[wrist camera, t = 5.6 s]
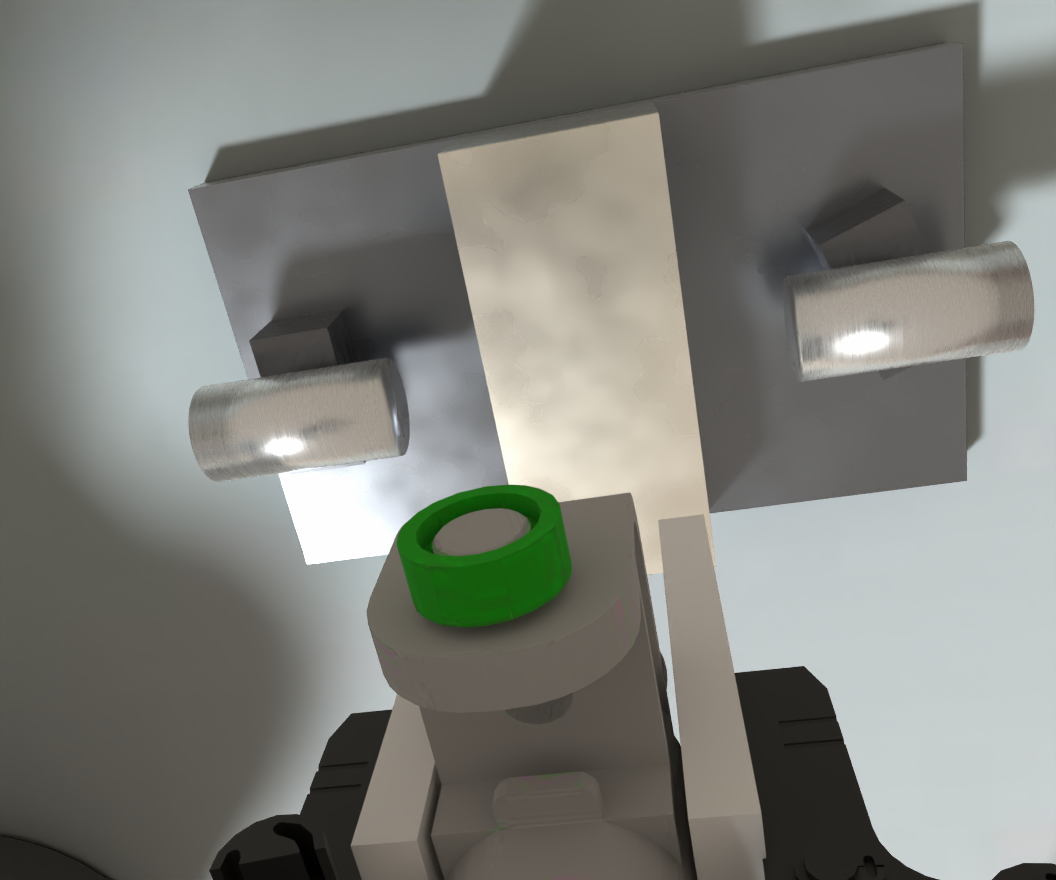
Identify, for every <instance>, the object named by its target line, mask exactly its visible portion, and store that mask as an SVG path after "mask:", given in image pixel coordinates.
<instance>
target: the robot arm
mask: <svg viewBox="0 0 1056 880" xmlns="http://www.w3.org/2000/svg"><path fill="white" fill-rule="evenodd" d="M658 525H659V535H660V544H661V554H662V564H663V574H664V584H665V594H666V604H667V614H668V624H669V634H670V643H671V653H672V663H673V673H674V683H675V693H676V703H677V713H678V723H679V733H680V743H681V752H682V762H683V772H684V782H685V792H686V802H687V812H688V821H689V827H690V834H691V840H692V847H693V854H694V860H695V867H696V873H697V880H938V879H935V878H931V877H928V876H925V875H923V874H921V873H919V872H917V871H915V870H913V869H910V868H908V867H906V866H905V865H904V864H902V863H901V862H900V861H898V860H897V859H896V858H894V857H893V856H892V855H891V854H890V853H889V852H888V851H887V850H886V849H885V847H884V846H883V845H882V844H881V843H880V842H879V840H878V838H877V836H876V834H875V832H874V830H873V828H872V825H871V822H870V819H869V816H868V812H867V809H866V806H865V803H864V800H863V797H862V794H861V791H860V788H859V785H858V782H857V779H856V776H855V773H854V770H853V766H852V763H851V760H850V757H849V754H848V751H847V748H846V745H845V744H844V739H843V736H842V733H841V730H840V727H839V724H838V722H837V719H836V714H835V711H834V708H833V705H832V702H831V699H830V696H829V693H828V690H827V688H826V687H825V686H824V685H823V684H822V683H821V682H820V681H819V680H818V679H817V678H816V677H815V676H814V675H813V674H812V673H810V672H809V671H808V670H807V669H806V668H805V667H804V666H801V667H791V668H781V669H771V670H760V671H750V672H740V673H734V669H733V664H732V658H731V653H730V648H729V643H728V638H727V633H726V627H725V622H724V617H723V612H722V607H721V602H720V596H719V591H718V586H717V581H716V576H715V571H714V565H713V560H712V555H711V550H710V545H709V539H708V534H707V529H706V524H705V519H704V514H701V515H693V516H685V517H677V518H669V519H661V520H658ZM318 767H319V771H318V772H316V774H315V776H314V779H313V782H312V784H311V787H310V794H308V795H307V797H306V800H305V802H304V805H303V808H302V810H301V813H300V815H298V814H292V815H276V816H273V817H270V818H267V819H264V820H261V821H258V822H255V823H254V824H252V825H251V826H249V827H247V828H246V829H244V830H243V831H241V832H239V833H238V834H236V835H235V836H234V837H233V838H232V839H231V840H230V841H229V842H228V843H227V844H226V845H225V846H224V847H223V848H222V849H221V850H220V851H219V852H218V854H217V856H216V858H215V860H214V862H213V864H212V866H211V868H210V870H209V871H210V873H211V876H212V878H213V880H444V877H443V873H442V870H441V867H440V864H439V860H438V857H437V854H436V851H435V848H434V844H433V841H432V838H431V832H432V828H433V823H434V819H435V814H436V810H437V805H438V801H439V796H440V791H441V787H442V784H441V781H440V777H439V774H438V770H437V767H436V764H435V760H434V757H433V753H432V750H431V746H430V743H429V739H428V736H427V732H426V729H425V726H424V722H423V719H422V715H421V712H420V708H419V706H418V705H415V704H413V703H411V702H410V701H408V700H406V699H404V698H402V697H400V696H399V695H398V694H397V697H396V700H395V703H394V706H393V710H383V711H373V712H363V713H353V714H351V715H350V716H349V717H348V718H347V719H346V720H345V721H344V722H343V724H342V725H341V726H340V727H339V728H338V729H337V730H336V731H335V733H334V734H333V735H332V736H331V737H330V738H329V740H328V742H327V745H326V748H325V750H324V753H323V755H322V758H321V761H320V763H319V766H318ZM0 880H107V879H106V878H104V877H103V876H101V875H100V874H98V873H97V872H95V871H94V870H92V869H90V868H88V867H87V866H85V865H83V864H81V863H79V862H77V861H75V860H73V859H71V858H69V857H67V856H65V855H62V854H60V853H58V852H55V851H52V850H50V849H47V848H44V847H41V846H38V845H35V844H32V843H28V842H25V841H21V840H16V839H12V838H7V837H1V836H0ZM992 880H1056V865H1055V864H1051V863H1023V864H1020V865H1017V866H1014V867H1011V868H1008V869H1005V870H1001V871H1000V872H999V873H998V874H997V875H996V876H995V877H994V878H993V879H992Z"/></svg>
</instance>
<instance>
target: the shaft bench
mask: <svg viewBox="0 0 1056 880" xmlns="http://www.w3.org/2000/svg"><path fill="white" fill-rule="evenodd" d="M188 191H189V194H190V198H191V201H192V204H193V207H194V210H195V213H196V216H197V220H198V223H199V226H200V229H201V232H202V235H203V238H204V242H205V245H206V248H207V251H208V254H209V257H210V260H211V264H212V267H213V270H214V273H215V276H216V279H217V282H218V286H219V289H220V292H221V295H222V298H223V301H224V304H225V308H226V311H227V314H228V317H229V320H230V323H231V326H232V330H233V333H234V336H235V339H236V342H237V345H238V349H239V352H240V355H241V358H242V361H243V364H244V367H245V371H246V374H247V377H248V380H241V381H235V382H229V383H222V384H216V385H210V386H203V387H201V388H199V389H198V390H197V391H196V392H195V394H194V395H193V398H192V400H191V404H190V409H189V434H190V440H191V445H192V449H193V452H194V455H195V457H196V460H197V462H198V464H199V466H200V468H201V469H202V471H203V472H204V473H205V475H206V476H207V477H208V478H210V479H211V480H213V481H216V482H222V481H229V480H236V479H243V478H250V477H257V476H264V475H272V474H279V477H280V481H281V484H282V487H283V490H284V493H285V496H286V499H287V503H288V506H289V509H290V512H291V515H292V518H293V522H294V525H295V528H296V531H297V534H298V537H299V540H300V544H301V547H302V550H303V553H304V556H305V559H306V562H307V564H315V563H323V562H331V561H339V560H346V559H354V558H362V557H370V556H378V555H386V554H389V552H390V549H391V547H392V544H393V542H394V539H395V537H396V535H397V533H398V531H399V530H400V528H401V527H402V526H403V525H404V524H405V523H406V522H407V521H408V520H409V519H411V518H412V517H413V516H414V515H415V514H416V513H417V512H419V511H421V510H422V509H424V508H426V507H427V506H429V505H431V504H432V503H434V502H436V501H439V500H442V499H444V498H447V497H449V496H452V495H454V494H457V493H459V492H464V491H468V490H472V489H477V488H481V487H486V486H496V485H526V486H531V487H535V488H540V489H542V490H544V491H546V492H548V493H550V494H552V495H553V496H554V497H555V499H556V500H557V501H558V502H564V501H571V500H579V499H586V498H593V497H600V496H608V495H615V494H622V493H629V492H630V493H631V495H632V498H633V502H634V506H635V511H636V515H637V520H638V526H639V531H640V537H641V542H642V548H643V554H644V560H645V566H646V572H647V575H649V574H657V573H663V564H662V554H661V544H660V535H659V525H658V520H661V519H669V518H677V517H685V516H693V515H701V514H704V519H705V524H706V529H707V534H708V539H709V545H710V550H711V555H712V560H713V565H714V567H716V561H715V553H714V545H713V537H712V529H711V521H710V513H716V512H724V511H732V510H740V509H748V508H756V507H764V506H771V505H779V504H787V503H795V502H803V501H811V500H819V499H827V498H834V497H842V496H850V495H858V494H866V493H874V492H882V491H889V490H897V489H905V488H913V487H921V486H929V485H937V484H945V483H952V482H960V481H967V435H966V358H969V357H976V356H983V355H990V354H997V353H1004V352H1011V351H1018V350H1022V349H1023V348H1024V347H1025V346H1026V345H1027V343H1028V341H1029V339H1030V336H1031V333H1032V328H1033V321H1034V296H1033V287H1032V281H1031V277H1030V273H1029V269H1028V266H1027V263H1026V261H1025V258H1024V256H1023V254H1022V252H1021V251H1020V249H1019V248H1018V247H1017V245H1016V244H1014V243H1013V242H1011V241H1004V242H997V243H991V244H985V245H979V246H972V247H966V248H965V221H964V114H963V43H952V42H947V43H941V44H936V45H931V46H925V47H920V48H915V49H910V50H904V51H899V52H894V53H888V54H883V55H878V56H873V57H867V58H862V59H857V60H851V61H846V62H841V63H836V64H830V65H825V66H820V67H814V68H809V69H804V70H799V71H793V72H788V73H783V74H777V75H772V76H767V77H762V78H756V79H751V80H746V81H740V82H735V83H730V84H725V85H719V86H714V87H709V88H703V89H698V90H693V91H688V92H682V93H677V94H672V95H666V96H661V97H656V98H651V99H645V100H640V101H635V102H629V103H624V104H619V105H614V106H608V107H603V108H598V109H592V110H587V111H582V112H577V113H571V114H566V115H561V116H556V117H550V118H545V119H540V120H534V121H529V122H524V123H519V124H513V125H508V126H503V127H497V128H492V129H487V130H482V131H476V132H471V133H466V134H460V135H455V136H450V137H445V138H439V139H434V140H429V141H423V142H418V143H413V144H408V145H402V146H397V147H392V148H386V149H381V150H376V151H371V152H365V153H360V154H355V155H349V156H344V157H339V158H334V159H328V160H323V161H318V162H312V163H307V164H302V165H297V166H291V167H286V168H281V169H275V170H270V171H265V172H260V173H254V174H249V175H244V176H238V177H233V178H228V179H223V180H217V181H212V182H207V183H203V184H200V185H198V186H195V187H193V188H191V189H188Z"/></svg>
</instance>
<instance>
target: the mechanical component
mask: <svg viewBox="0 0 1056 880" xmlns="http://www.w3.org/2000/svg"><path fill="white" fill-rule="evenodd" d="M367 618H368V625H369V628H370V631H371V635H372V638H373V641H374V645H375V648H376V651H377V655H378V658H379V661H380V664H381V668H382V671H383V674H384V676H385V678H386V680H387V682H388V684H389V686H390V687H391V688H392V689H393V690H394V691H395V692H396V693H397V694H398V695H399V696H400V697H402V698H404V699H406V700H408V701H410V702H411V703H413V704H415V705H418V706H419V708H420V712H421V715H422V719H423V722H424V726H425V729H426V732H427V736H428V739H429V743H430V746H431V750H432V753H433V757H434V760H435V764H436V767H437V770H438V774H439V777H440V781H441V784H442V787H441V791H440V796H439V801H438V805H437V810H436V814H435V819H434V823H433V828H432V832H431V838H432V841H433V844H434V848H435V851H436V854H437V857H438V860H439V864H440V867H441V870H442V873H443V877H444V880H697V873H696V867H695V860H694V854H693V847H692V840H691V834H690V827H689V821H688V812H687V802H686V792H685V782H684V772H683V762H682V752H681V746H680V744H679V742H678V740H677V739H676V738H675V736H674V733H673V727H672V721H671V715H670V709H669V703H668V697H667V691H666V689H667V669H666V665H665V662H664V658H663V656H662V654H661V652H660V649H659V643H658V638H657V632H656V626H655V620H654V614H653V608H652V602H651V596H650V590H649V584H648V578H647V572H646V566H645V560H644V554H643V548H642V542H641V537H640V531H639V526H638V520H637V515H636V511H635V506H634V502H633V498H632V495H631V493H630V492H629V493H622V494H615V495H608V496H600V497H593V498H586V499H579V500H571V501H564V502H558V501H557V500H556V499H555V497H554V496H553V495H552V494H550V493H548V492H546V491H544V490H542V489H540V488H535V487H531V486H526V485H496V486H486V487H481V488H477V489H472V490H468V491H464V492H459V493H457V494H454V495H452V496H449V497H447V498H444V499H442V500H439V501H436V502H434V503H432V504H431V505H429V506H427V507H426V508H424V509H422V510H421V511H419V512H417V513H416V514H415V515H414V516H413V517H412V518H411V519H409V520H408V521H407V522H406V523H405V524H404V525H403V526H402V527H401V528H400V530H399V531H398V533H397V535H396V537H395V539H394V542H393V544H392V547H391V549H390V552H389V554H388V556H387V559H386V561H385V564H384V566H383V568H382V571H381V573H380V576H379V578H378V580H377V583H376V585H375V588H374V590H373V592H372V595H371V597H370V600H369V604H368V608H367Z"/></svg>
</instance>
